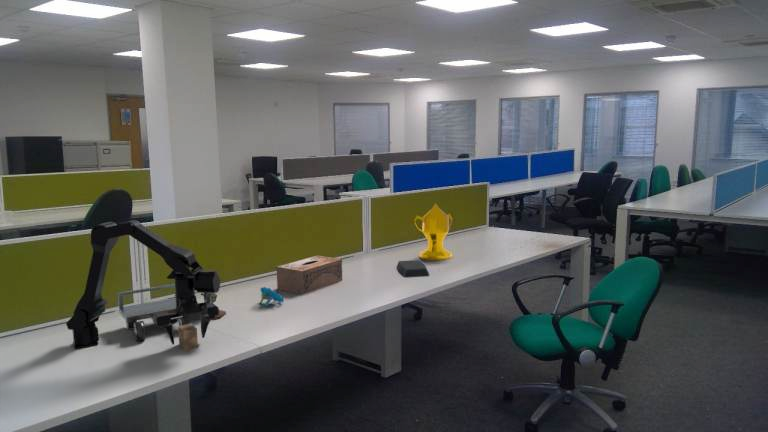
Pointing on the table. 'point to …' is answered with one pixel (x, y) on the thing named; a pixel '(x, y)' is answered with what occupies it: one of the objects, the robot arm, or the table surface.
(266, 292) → the blue irregular piece
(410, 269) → the external hard drive
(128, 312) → the trolley
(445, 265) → the table surface
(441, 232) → the trophy cup
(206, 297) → the robot figurine
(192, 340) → the block
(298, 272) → the tissue box cover
